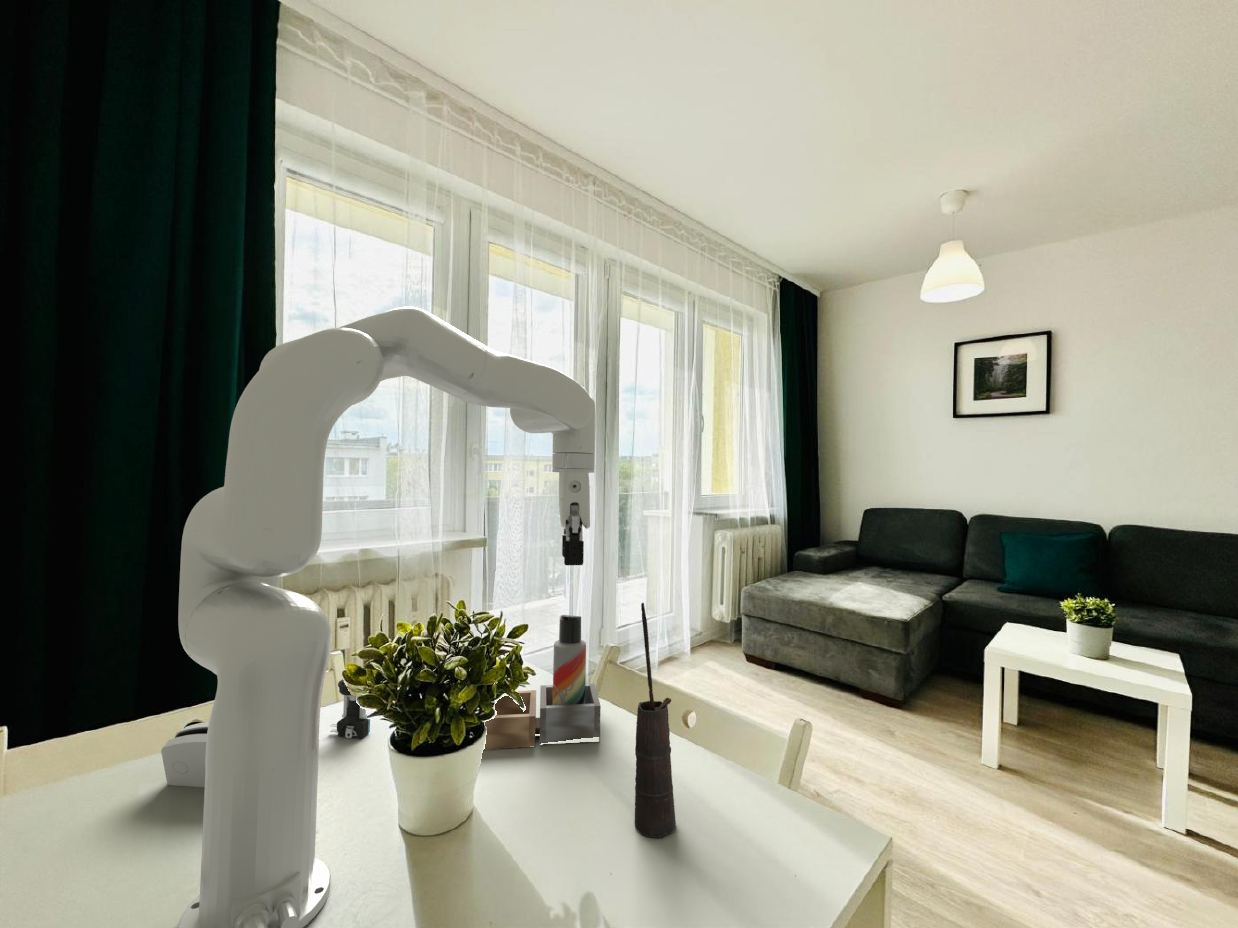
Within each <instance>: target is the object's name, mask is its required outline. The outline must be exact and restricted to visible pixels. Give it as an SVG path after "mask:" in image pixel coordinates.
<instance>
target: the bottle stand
mask: <svg viewBox="0 0 1238 928" xmlns="http://www.w3.org/2000/svg"><path fill="white" fill-rule="evenodd" d="M517 691H518V692H519V694H520V696H521V697H522V699H523V702H524V704H525V706H526V710H525V711H524V712H523V710H522V709H521V708H520V705H518V704H516V703H515V702H514V701H513V699H512V698H510V697H509V696H504V697H502V698H501V699H499V700H498V701H497V703H496V704H495V710H496V711H497V715H496V716H495V718H494V719H491V720H489V721H486V722H485V726H486V727H487V735H486V744H485V750H484V751H489V750H490V749H495V750H500V749H499V748H513V749H517V748H516V747H530V746H535V747H536V737H535V734H540V737H539V742H540V743H539V744H541V743H548V742H558V741H566V740H573V739H581V738H593V737H600V738H601V702H600V699H599V698H600V697H599V696H598V695H599V694H598V691H597V687H596V683H595V682H594V683H586V685H585V704H573V705H553V684H545V685H540V691H539V692H540V693H539V695H540V696H539V717H537V689H536V690H535V689H531V690H517ZM490 751H491V750H490Z"/></svg>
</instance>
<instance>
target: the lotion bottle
mask: <svg viewBox="0 0 1238 928" xmlns="http://www.w3.org/2000/svg"><path fill="white" fill-rule="evenodd" d="M558 628H559V629H558V631H559V633H558V640H556V641H554V644H553V661H552V662H553V666H552V667H553V668H552V669H553V670H552V672H553V673H552V685H553V705H573V704H585V685H586V684H587V683H586V681H587V680H586V679H587V678H586V676H587V673H586V671H587V643H586V641H585V640H583V639H582V616H581V615H580V616H578V615H572V614H571V615H569V614H561V615H560V616H559V626H558Z"/></svg>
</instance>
